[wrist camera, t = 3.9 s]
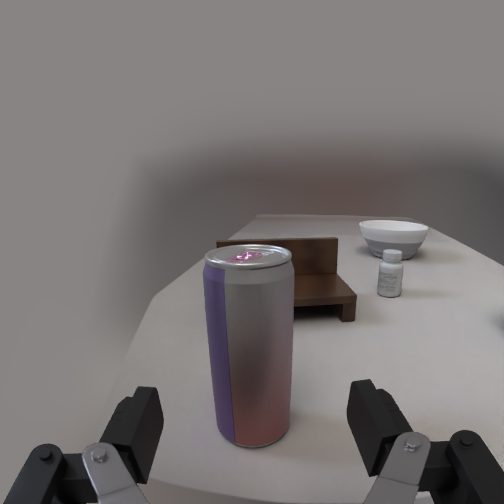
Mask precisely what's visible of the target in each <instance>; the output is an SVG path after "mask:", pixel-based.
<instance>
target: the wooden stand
mask: <svg viewBox="0 0 504 504" xmlns="http://www.w3.org/2000/svg"><path fill="white" fill-rule="evenodd" d="M216 244H217V248H221V247H226V246H233V245H249V244H257V245H271V246H278V247H282V248H285V249H287V250H289V251H290V252H291V254H292V257H291V261H292V264H293V267H294V307H295V306H315V305H331V306H332V308H333V309H334V311H335V312H336V314H337V315H338V317H339V319H340V320H341V322H348V321H355V311H356V300H357V295H356V294H355V293H354V292H353V291H352V289H351V288H350V287H349V286H348V285H347V284H346V283H345V282H344V281H343V280H342V279H341V278H340V277H339V275H338V274H337V254H338V238H336V237H330V238H284V239H246V240H218V241H217V242H216Z"/></svg>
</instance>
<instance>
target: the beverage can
mask: <svg viewBox="0 0 504 504" xmlns="http://www.w3.org/2000/svg"><path fill="white" fill-rule="evenodd" d="M291 257H292V254H291V252H290V251H289V250H287V249H285V248H282V247H278V246H271V245H257V244H249V245H233V246H226V247H221V248H217V249H214V250H211V251H209V252H208V253H206V255H205V260H206V263H205V267H204V270H203V282H204V296H205V309H206V321H207V333H208V344H209V354H210V364H211V374H212V384H213V393H214V402H215V410H216V419H217V426H218V429H219V431H220V432H221V434H222V435H223V436H224V437H225V438H227V439H228V440H229V441H231V442H232V443H234V444H236V445H239V446H243V447H251V448H254V447H262V446H266V445H269V444H271V443H273V442H275V441H276V440H278V439H279V438H280V437H281V436H282V435H283V434H284V433H285V432H286V430H287V428H288V426H289V416H290V398H291V377H292V352H293V319H294V267H293V264H292V261H291Z"/></svg>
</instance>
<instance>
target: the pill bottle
mask: <svg viewBox="0 0 504 504" xmlns="http://www.w3.org/2000/svg"><path fill="white" fill-rule="evenodd" d="M401 259H402V252H401V251H399V250H393V249H387V250H384V251H383V260H384V261H383V262H381V263H380V266H379V279H378V293H379V294H380V295H382V296H385V297H396V296H399V295H400V294H401V286H402V276H403V265H402V264H401V263H400V261H401Z"/></svg>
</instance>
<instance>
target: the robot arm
mask: <svg viewBox="0 0 504 504" xmlns="http://www.w3.org/2000/svg"><path fill="white" fill-rule="evenodd" d="M347 420H348V424H349V426H350V429H351V431H352V434H353V436H354V439H355V441H356V444H357V446H358V449H359V452H360V454H361V457H362V459H363V462H364V465H365V467H366V470H367V472H368V475H369V477H372V476H376V475H378V477H377V479H376V480H375V482H374V484H373V486H372V488H371V490H370V492H369V494H368V496H367V497H366V499H365V501H364V503H363V504H413V503H414V500H415V497H416V495H417V492H423V491H429V492H430V494H431V497H432V499H433V501H434V504H504V472H503V470H502V468H501V467H500V465H499V464H498V462H497V461H496V459H495V458H494V456H493V455H492V453H491V452H490V450H489V449H488V447H487V446H486V445H485V443H484V442H483V440H482V439H481V437H480V436H479V435H478V434H476V433H475V432H473V431H469V430H461V431H458V432H456V433H454V434H453V435H452V437H451V439H450V441H440V442H431V441H429V439H428V438H427V437H426V436H425V435H423V434H421V433H418V432H413V430H412V428H411V427H410V425H409V423H408V422H407V420H406V418H405V417H404V415H403V414H402V412H401V410H399V407H398V406H397V404H396V402H395V401H394V399H393V397H392V396H391V395H390V394H389V393H388V392H386V391H385V390H383V389H377V390H376V388H375V386H374V384H373V383H372V381H371V380H370V379H367V380H360V381H353V382H352V383H351V387H350V394H349V400H348V405H347ZM163 424H164V418H163V412H162V408H161V404H160V399H159V395H158V391H157V388H155V387H141V386H139V387H137V389H136V391H135V393H134V395H133V397H126V398H125V399H123V400H122V401H121V402H120V403H119V404H118V405H117V407H116V409H115V411H114V413H113V415H112V417H111V420H110V421H109V423H108V425H107V427H106V429H105V431H104V433H103V435H102V437H101V439H100V441H99V443H94V444H91V445H89V446H88V447H87V448H85V449H84V451H83V453H79V454H63V453H62V452H61V450H60V448H59V447H57V446H56V445H53V444H42V445H39V446H37V447H36V448H34V449H33V451H32V452H31V454H30V455H29V457H28V459H27V461H26V462H25V464H24V467H23V468H22V470H21V471H20V473H19V475H18V477H17V479H16V480H15V482H14V484H13V486H12V488H11V490H10V492H9V493H8V495H7V497H6V499H5V501H4V503H3V504H86V503H99V504H149V502H148V501H147V499H146V497H145V496H144V494H143V493H142V491H141V490H140V488H139V486H138V485H137V483H142V484H147V480H148V477H149V473H150V470H151V467H152V463H153V460H154V456H155V453H156V450H157V446H158V443H159V439H160V436H161V433H162V430H163Z"/></svg>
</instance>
